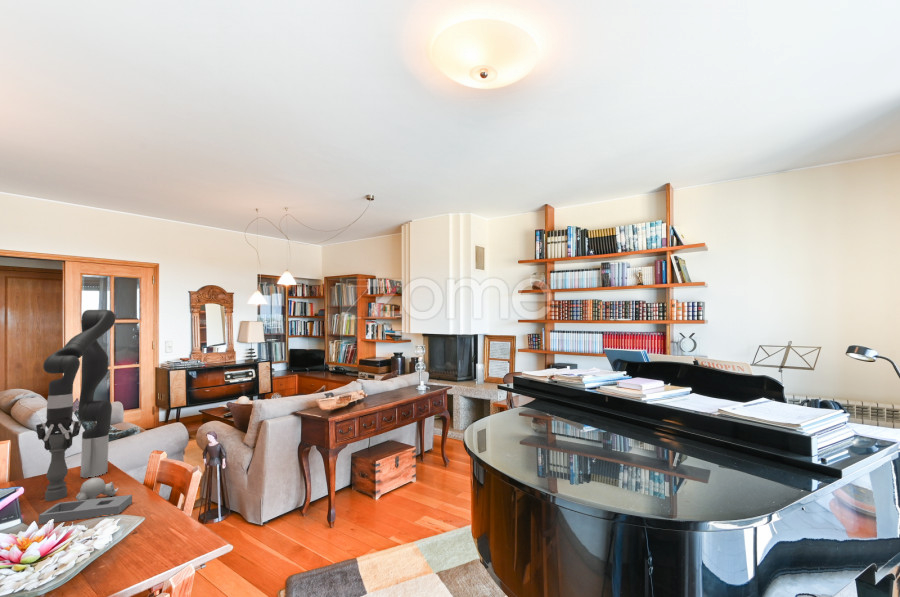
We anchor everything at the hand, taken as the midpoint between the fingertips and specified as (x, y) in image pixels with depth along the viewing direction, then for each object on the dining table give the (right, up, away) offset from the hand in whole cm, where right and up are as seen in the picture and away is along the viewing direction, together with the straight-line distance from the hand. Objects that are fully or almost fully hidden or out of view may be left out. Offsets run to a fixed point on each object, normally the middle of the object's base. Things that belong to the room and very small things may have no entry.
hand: (58, 448), depth 160 cm
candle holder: (0, -19, -1) cm, 19 cm away
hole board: (+25, -18, -15) cm, 34 cm away
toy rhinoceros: (+19, -19, -4) cm, 27 cm away
